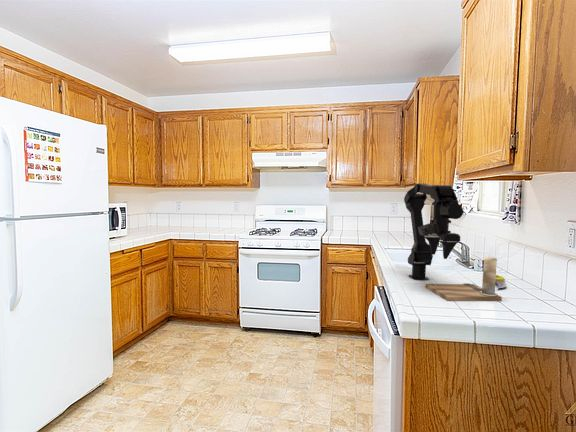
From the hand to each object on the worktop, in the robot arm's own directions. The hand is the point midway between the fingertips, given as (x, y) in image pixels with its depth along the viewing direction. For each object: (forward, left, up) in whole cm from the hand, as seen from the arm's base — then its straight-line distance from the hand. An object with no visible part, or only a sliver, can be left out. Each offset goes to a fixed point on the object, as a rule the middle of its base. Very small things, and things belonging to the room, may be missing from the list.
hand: (439, 256), depth 135 cm
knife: (-8, +30, -14) cm, 34 cm away
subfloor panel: (+6, +6, -13) cm, 16 cm away
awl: (+12, +13, -11) cm, 21 cm away
